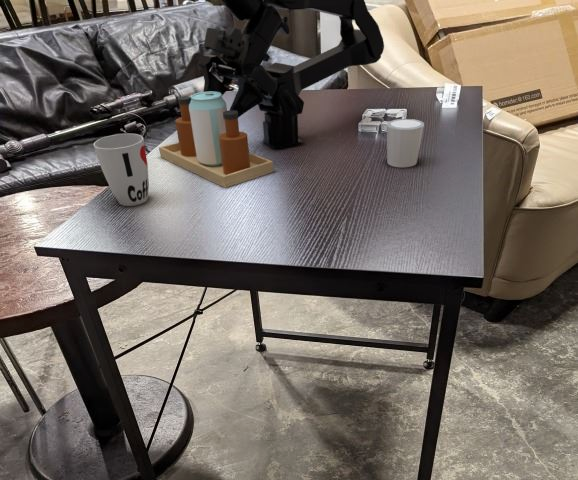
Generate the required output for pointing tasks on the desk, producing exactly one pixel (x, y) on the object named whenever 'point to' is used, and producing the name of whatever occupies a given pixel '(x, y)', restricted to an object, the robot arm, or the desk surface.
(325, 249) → the desk surface
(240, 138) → the amber bottle near
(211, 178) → the tray
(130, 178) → the cup
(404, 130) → the shot glass
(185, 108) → the amber bottle far
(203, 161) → the can
